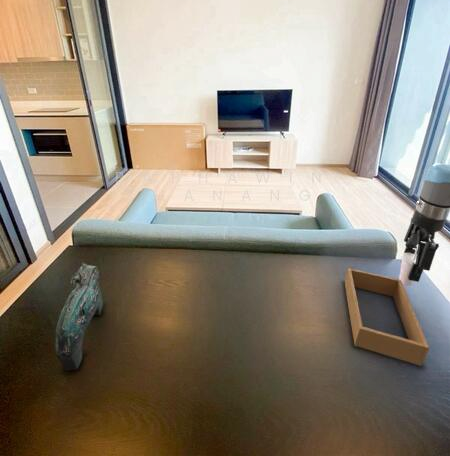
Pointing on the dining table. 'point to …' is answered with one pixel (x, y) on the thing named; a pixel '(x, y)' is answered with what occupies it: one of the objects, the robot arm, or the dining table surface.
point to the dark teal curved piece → (77, 316)
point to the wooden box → (380, 341)
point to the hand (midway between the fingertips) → (409, 271)
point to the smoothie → (407, 267)
